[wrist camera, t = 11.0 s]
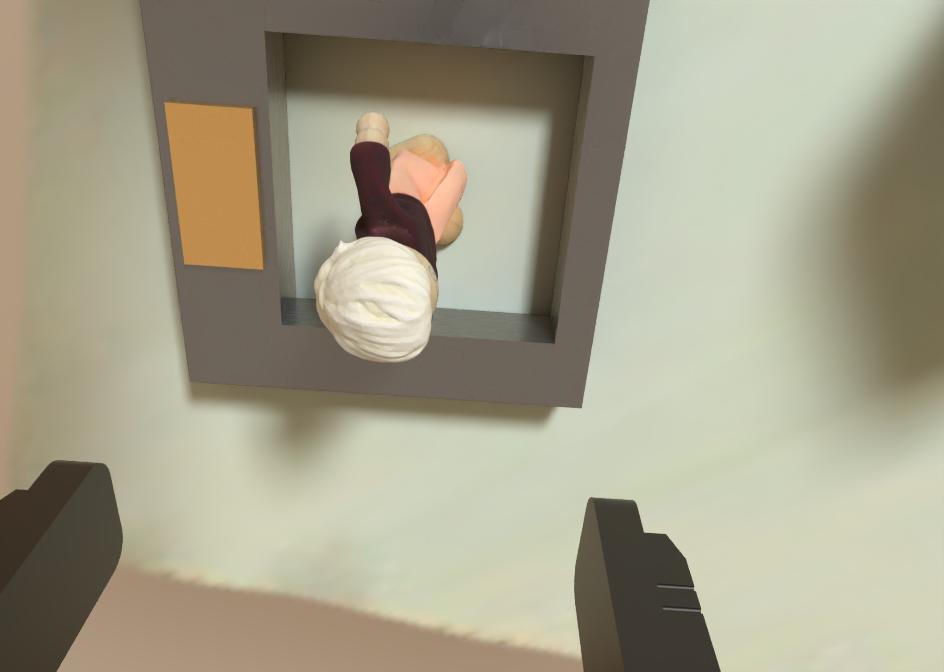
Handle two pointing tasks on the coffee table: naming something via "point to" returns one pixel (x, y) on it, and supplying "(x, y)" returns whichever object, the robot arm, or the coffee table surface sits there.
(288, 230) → the holder board
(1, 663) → the robot arm
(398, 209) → the grandmother figurine
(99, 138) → the coffee table surface
